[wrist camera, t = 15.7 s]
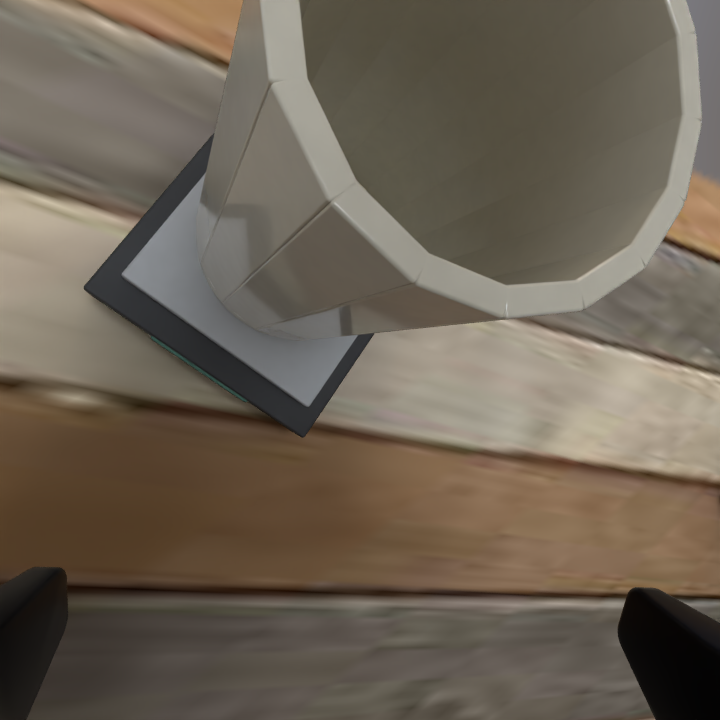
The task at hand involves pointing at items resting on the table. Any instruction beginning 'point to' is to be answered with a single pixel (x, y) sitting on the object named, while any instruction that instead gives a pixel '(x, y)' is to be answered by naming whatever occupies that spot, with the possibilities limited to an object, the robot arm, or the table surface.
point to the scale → (215, 314)
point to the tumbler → (444, 159)
